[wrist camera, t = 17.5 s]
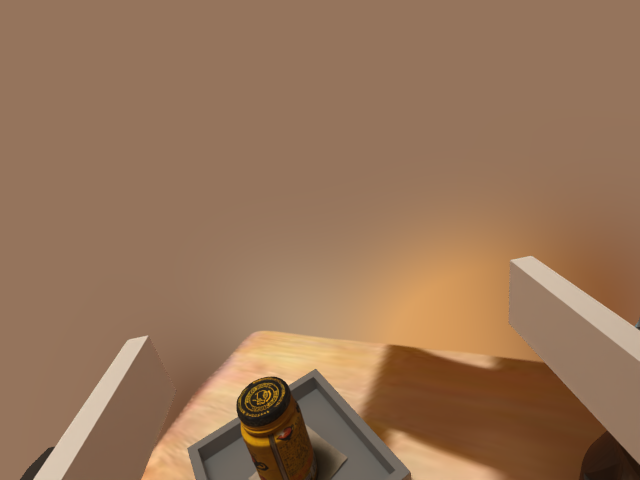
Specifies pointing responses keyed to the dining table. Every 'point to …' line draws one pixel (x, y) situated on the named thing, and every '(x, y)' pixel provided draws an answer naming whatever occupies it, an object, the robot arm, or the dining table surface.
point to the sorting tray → (319, 415)
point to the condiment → (282, 435)
